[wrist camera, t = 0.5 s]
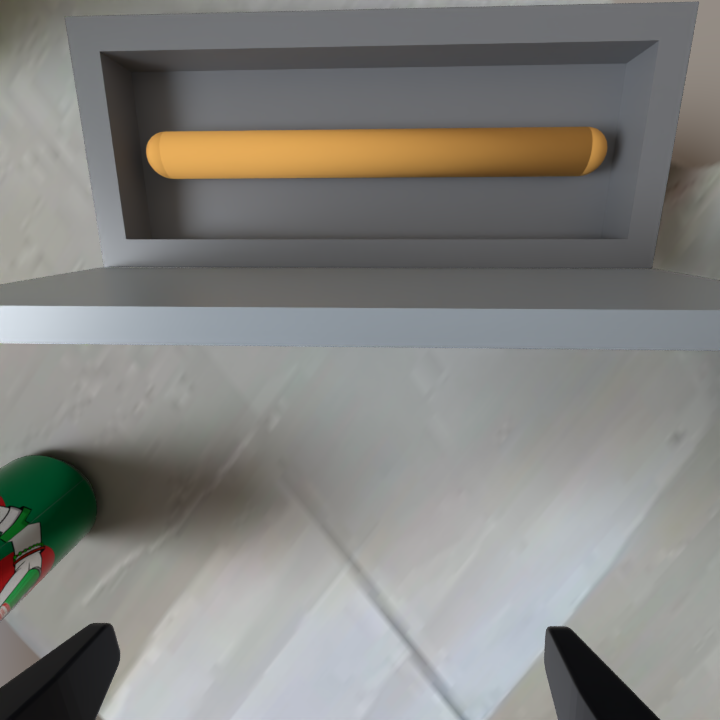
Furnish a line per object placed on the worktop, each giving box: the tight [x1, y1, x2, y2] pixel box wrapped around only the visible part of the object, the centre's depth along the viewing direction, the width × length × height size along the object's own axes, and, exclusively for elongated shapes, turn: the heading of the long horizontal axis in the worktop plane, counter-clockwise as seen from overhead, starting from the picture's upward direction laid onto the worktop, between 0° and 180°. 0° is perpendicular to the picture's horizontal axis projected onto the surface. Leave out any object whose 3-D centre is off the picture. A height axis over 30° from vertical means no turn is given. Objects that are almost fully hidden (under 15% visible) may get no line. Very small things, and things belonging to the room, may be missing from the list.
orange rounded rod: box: [146, 127, 607, 179], centre depth 16 cm, size 17×2×2 cm, turn 90°
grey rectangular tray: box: [65, 2, 699, 269], centre depth 16 cm, size 20×8×2 cm, turn 90°
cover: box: [0, 268, 720, 351], centre depth 12 cm, size 20×8×1 cm
